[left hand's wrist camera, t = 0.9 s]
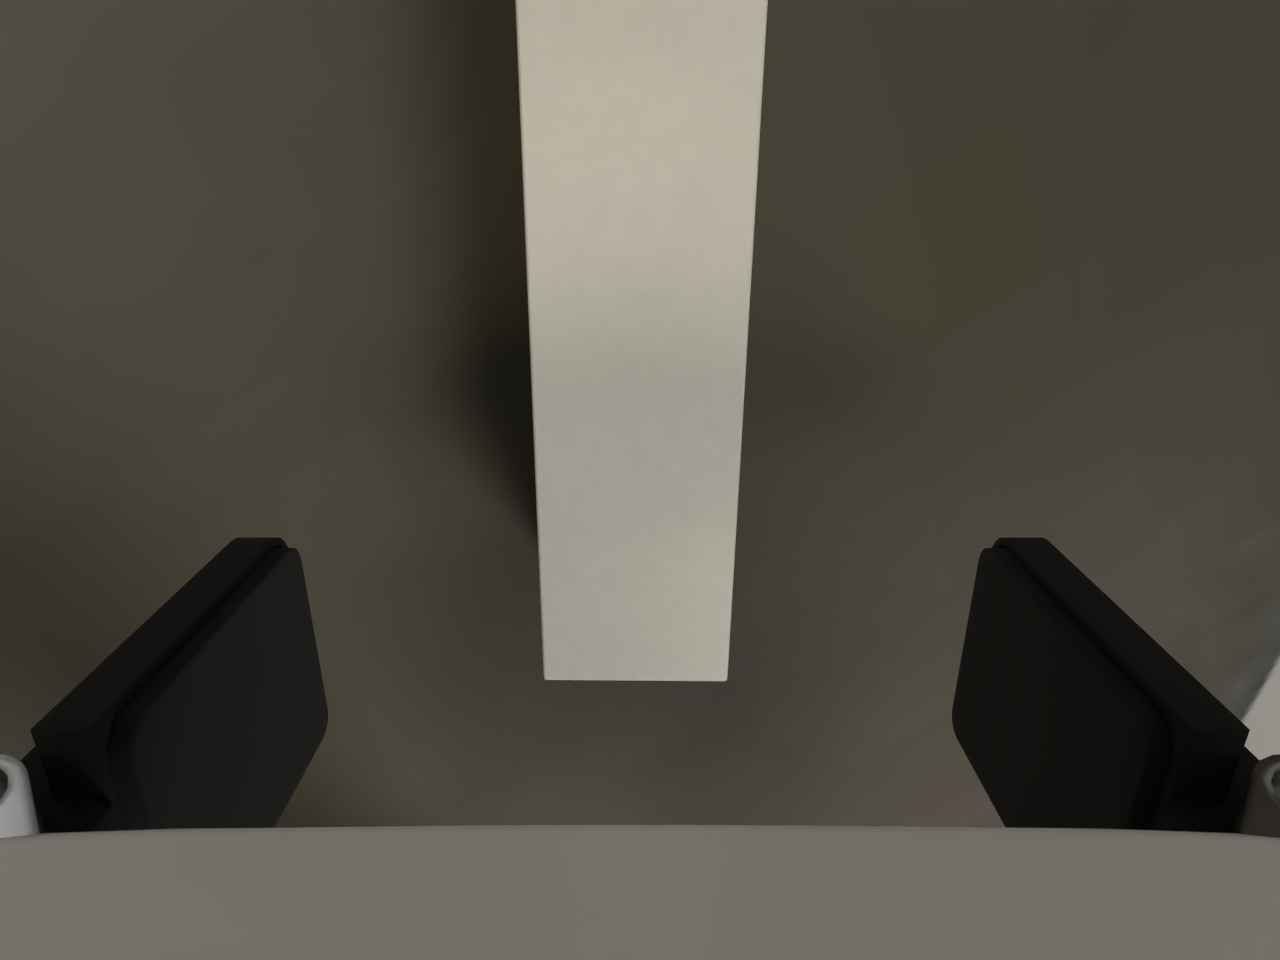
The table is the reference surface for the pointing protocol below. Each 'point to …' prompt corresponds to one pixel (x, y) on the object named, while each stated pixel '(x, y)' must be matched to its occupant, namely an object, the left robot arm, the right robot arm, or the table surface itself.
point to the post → (638, 322)
